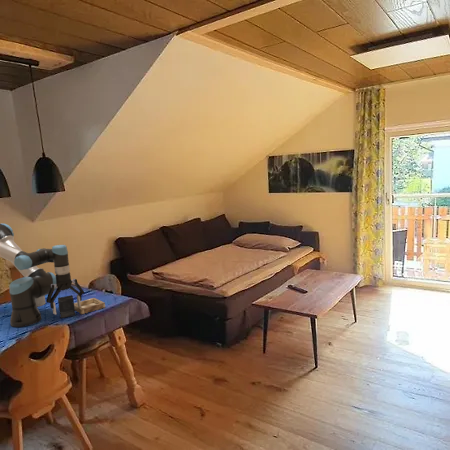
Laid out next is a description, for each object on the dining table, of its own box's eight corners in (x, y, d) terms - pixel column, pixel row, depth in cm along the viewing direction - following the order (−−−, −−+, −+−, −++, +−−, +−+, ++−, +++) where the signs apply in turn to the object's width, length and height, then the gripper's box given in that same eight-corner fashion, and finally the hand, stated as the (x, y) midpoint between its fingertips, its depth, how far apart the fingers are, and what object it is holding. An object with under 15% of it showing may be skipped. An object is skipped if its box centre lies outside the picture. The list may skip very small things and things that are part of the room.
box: (74, 312, 228) (72, 294, 226) (75, 315, 223) (73, 297, 221) (59, 315, 225) (57, 297, 223) (60, 318, 220) (58, 300, 218)
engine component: (32, 302, 251) (24, 307, 241) (27, 270, 248) (20, 274, 238) (49, 301, 251) (43, 306, 241) (45, 269, 248) (38, 273, 238)
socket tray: (81, 314, 224) (81, 309, 224) (72, 308, 234) (71, 303, 234) (105, 307, 233) (104, 302, 233) (94, 302, 244) (94, 297, 243)
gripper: (41, 279, 209) (46, 318, 212) (87, 269, 226) (91, 305, 229) (36, 277, 215) (41, 315, 218) (82, 267, 231) (86, 302, 234)
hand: (67, 310), depth 223 cm, fingers open, 13 cm apart
